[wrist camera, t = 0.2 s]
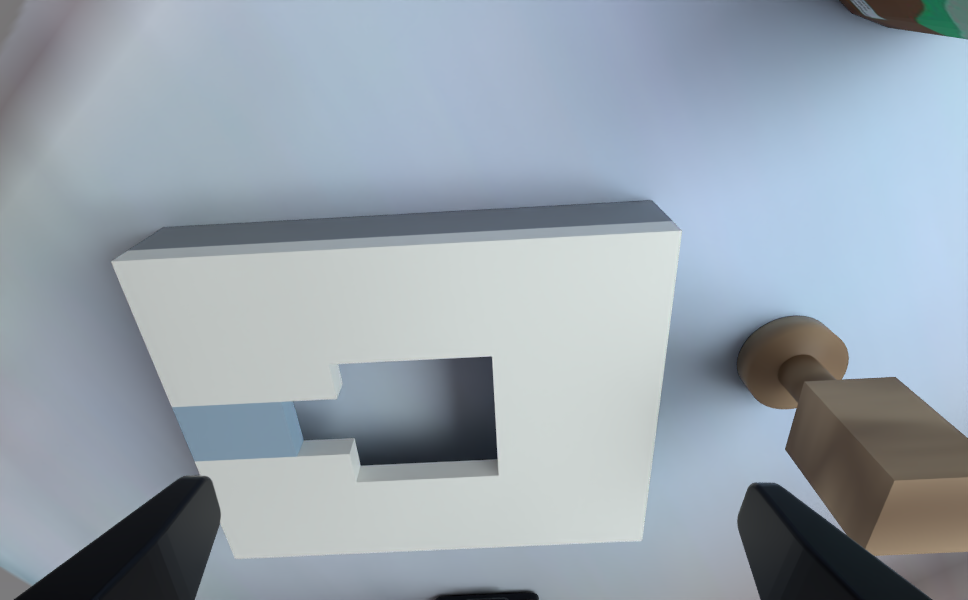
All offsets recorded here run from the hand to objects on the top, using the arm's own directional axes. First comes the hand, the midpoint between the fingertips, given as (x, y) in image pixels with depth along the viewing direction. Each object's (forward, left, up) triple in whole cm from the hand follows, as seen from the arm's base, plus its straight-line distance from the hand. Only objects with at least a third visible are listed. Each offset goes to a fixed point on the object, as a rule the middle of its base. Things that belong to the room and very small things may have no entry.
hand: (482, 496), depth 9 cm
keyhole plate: (-8, +3, -14) cm, 17 cm away
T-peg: (-8, -14, -14) cm, 21 cm away
